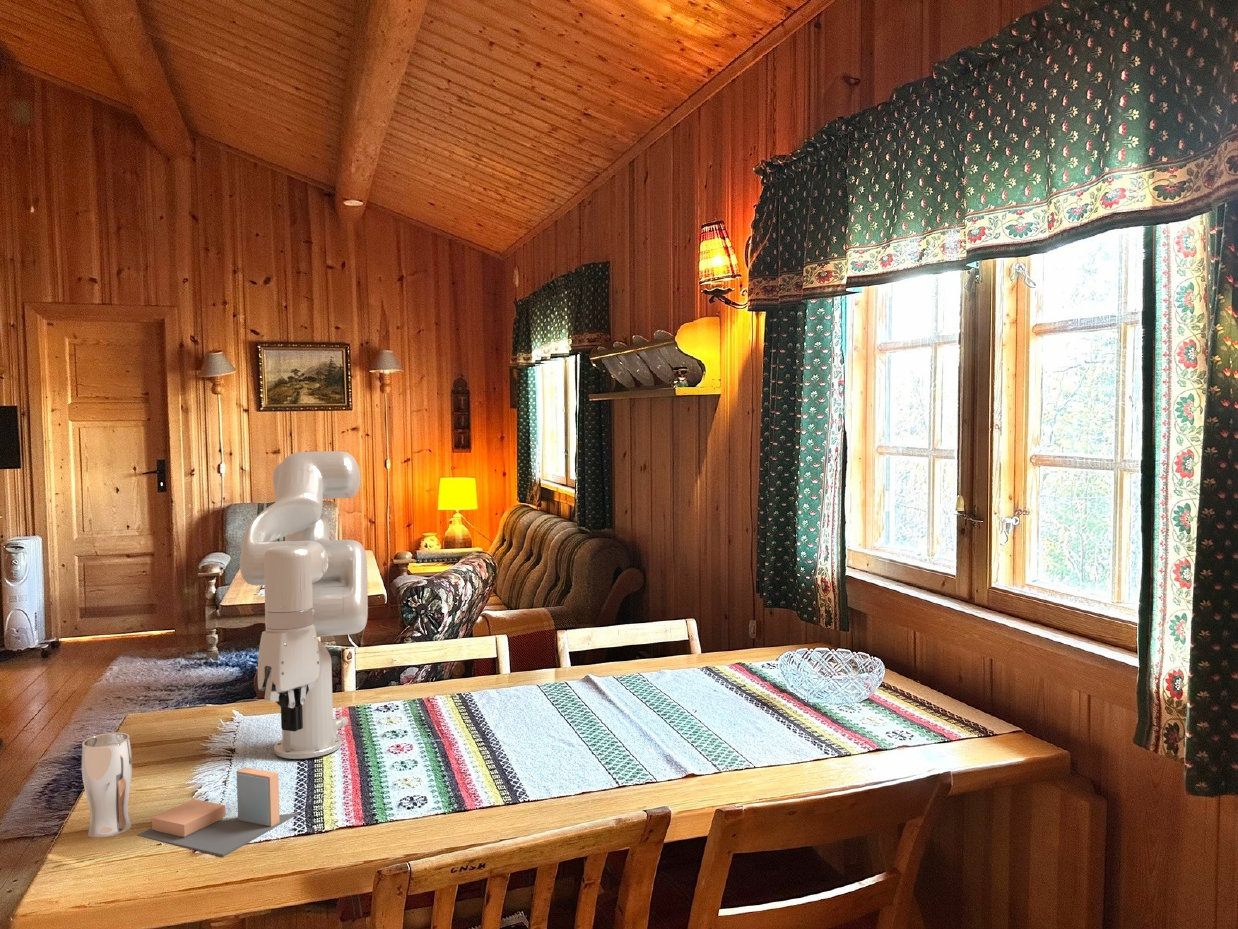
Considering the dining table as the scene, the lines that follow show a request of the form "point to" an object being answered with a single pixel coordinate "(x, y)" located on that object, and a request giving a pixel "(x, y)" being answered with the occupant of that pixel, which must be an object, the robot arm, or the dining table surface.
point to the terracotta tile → (188, 817)
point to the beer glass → (107, 782)
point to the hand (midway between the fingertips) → (292, 729)
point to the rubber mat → (217, 836)
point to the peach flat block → (258, 796)
